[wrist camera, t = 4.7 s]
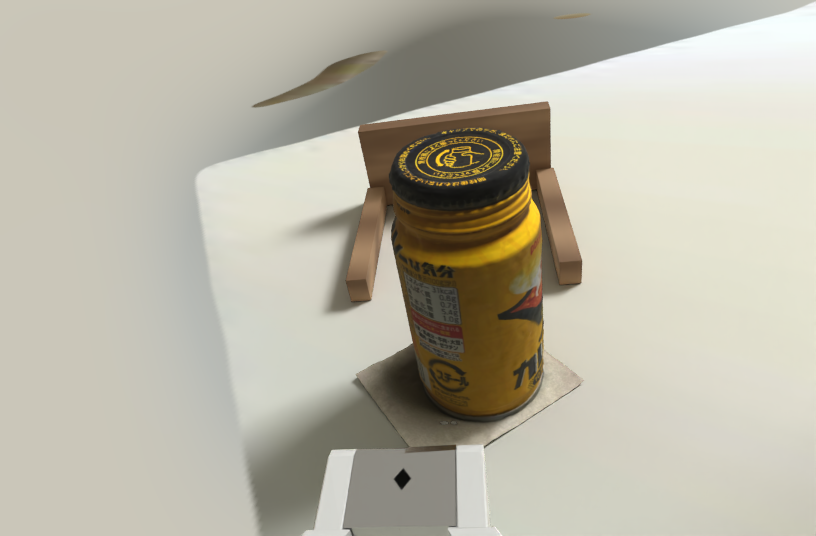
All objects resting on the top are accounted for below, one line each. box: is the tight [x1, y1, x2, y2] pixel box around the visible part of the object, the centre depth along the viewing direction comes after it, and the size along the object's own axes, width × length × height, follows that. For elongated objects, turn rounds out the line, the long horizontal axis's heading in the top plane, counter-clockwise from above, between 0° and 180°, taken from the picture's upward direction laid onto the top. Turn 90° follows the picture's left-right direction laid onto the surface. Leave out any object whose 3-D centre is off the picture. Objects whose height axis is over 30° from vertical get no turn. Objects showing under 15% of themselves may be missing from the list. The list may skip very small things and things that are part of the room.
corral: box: [346, 102, 582, 302], centre depth 36 cm, size 12×13×6 cm
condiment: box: [356, 127, 584, 447], centre depth 24 cm, size 7×8×12 cm
